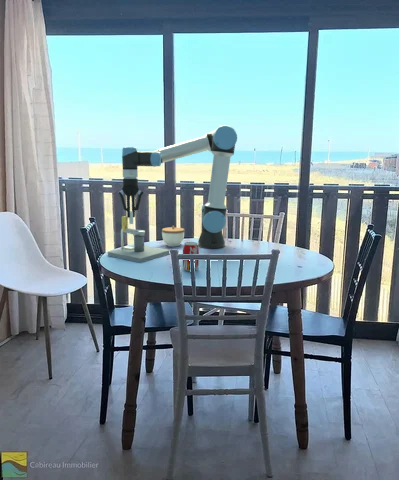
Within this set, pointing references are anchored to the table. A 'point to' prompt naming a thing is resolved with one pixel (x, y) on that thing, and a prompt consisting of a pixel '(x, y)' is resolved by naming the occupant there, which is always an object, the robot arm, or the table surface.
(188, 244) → the soda can
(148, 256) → the post board
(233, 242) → the table surface
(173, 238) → the lidded bowl
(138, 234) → the crank handle
